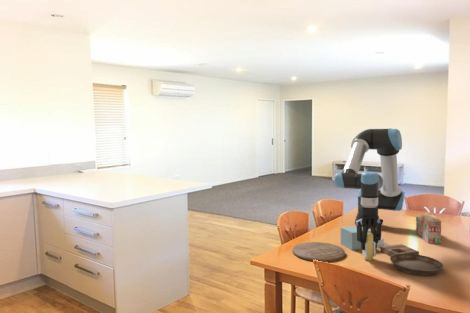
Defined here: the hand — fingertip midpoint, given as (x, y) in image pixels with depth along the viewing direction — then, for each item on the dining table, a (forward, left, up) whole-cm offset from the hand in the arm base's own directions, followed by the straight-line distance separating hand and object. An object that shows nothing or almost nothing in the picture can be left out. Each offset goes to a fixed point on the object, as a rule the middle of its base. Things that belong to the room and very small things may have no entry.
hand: (368, 255), depth 172 cm
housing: (-19, +5, -2) cm, 20 cm away
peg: (0, 0, -2) cm, 2 cm away
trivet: (-15, -18, -2) cm, 23 cm away
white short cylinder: (-16, +18, -2) cm, 24 cm away
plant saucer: (+15, +13, -2) cm, 20 cm away
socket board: (-2, +18, -2) cm, 18 cm away
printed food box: (-20, +51, -2) cm, 55 cm away
